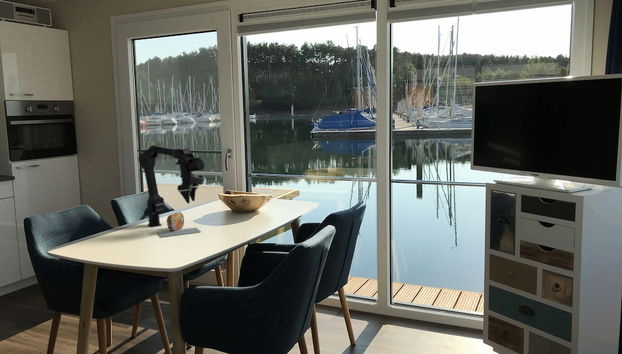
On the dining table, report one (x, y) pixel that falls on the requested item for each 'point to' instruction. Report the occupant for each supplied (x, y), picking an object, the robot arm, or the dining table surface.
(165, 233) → the mat
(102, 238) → the dining table surface
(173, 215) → the tin
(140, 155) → the robot arm
